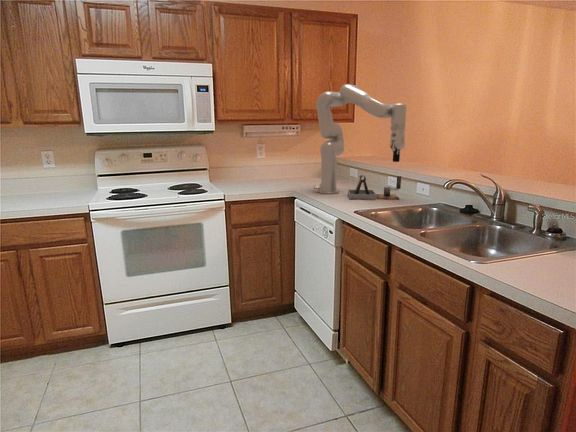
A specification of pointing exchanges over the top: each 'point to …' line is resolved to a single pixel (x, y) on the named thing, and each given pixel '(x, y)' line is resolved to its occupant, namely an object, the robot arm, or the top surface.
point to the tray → (362, 195)
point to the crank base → (388, 197)
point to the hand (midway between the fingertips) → (396, 161)
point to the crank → (398, 185)
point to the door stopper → (360, 185)
